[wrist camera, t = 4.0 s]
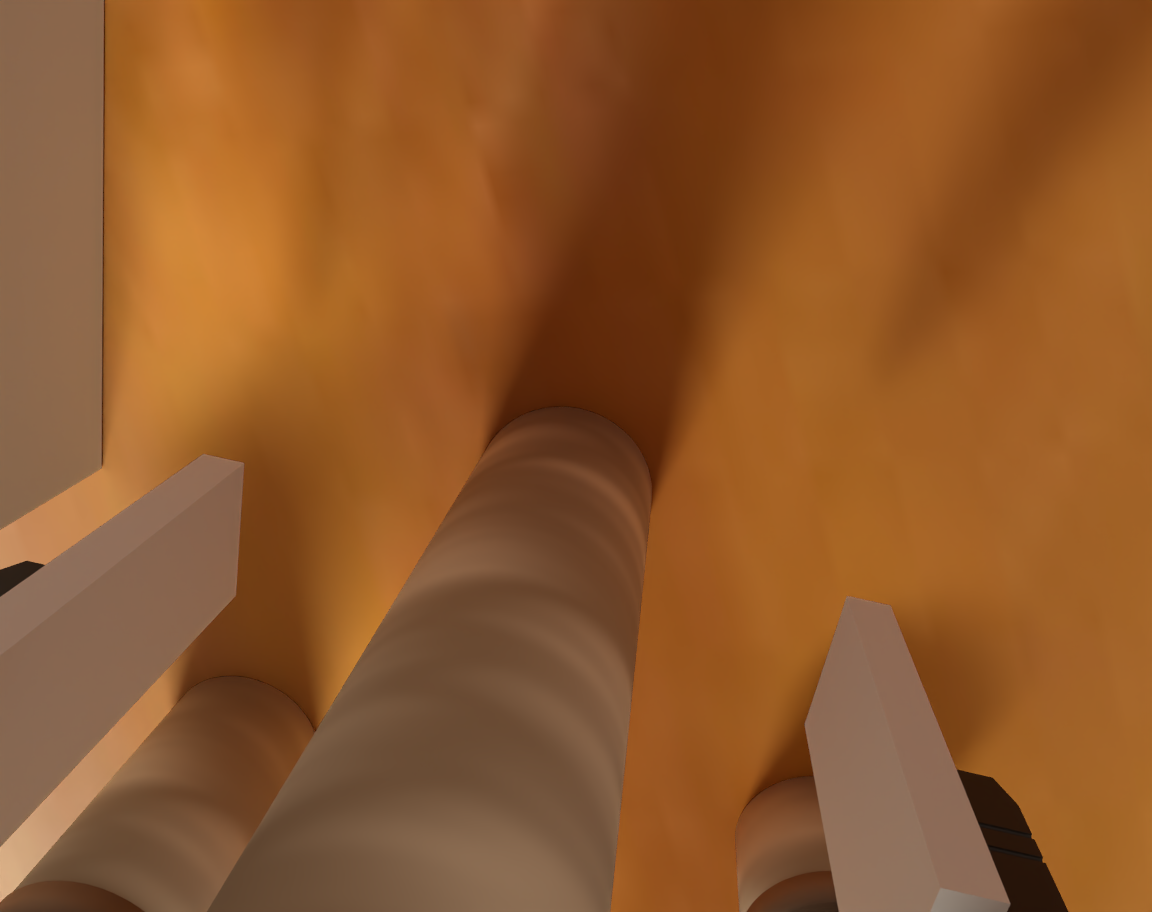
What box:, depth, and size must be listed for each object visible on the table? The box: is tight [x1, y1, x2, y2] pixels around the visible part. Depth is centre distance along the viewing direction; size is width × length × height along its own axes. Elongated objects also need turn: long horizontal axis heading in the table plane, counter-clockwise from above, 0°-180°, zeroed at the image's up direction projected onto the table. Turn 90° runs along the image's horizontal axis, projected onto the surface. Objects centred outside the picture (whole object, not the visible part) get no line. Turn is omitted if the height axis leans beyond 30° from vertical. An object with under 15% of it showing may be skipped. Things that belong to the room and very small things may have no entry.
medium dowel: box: [0, 676, 315, 912], centre depth 21 cm, size 4×4×8 cm
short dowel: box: [735, 776, 839, 912], centre depth 22 cm, size 4×4×4 cm
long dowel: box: [207, 407, 652, 912], centre depth 14 cm, size 4×4×16 cm
